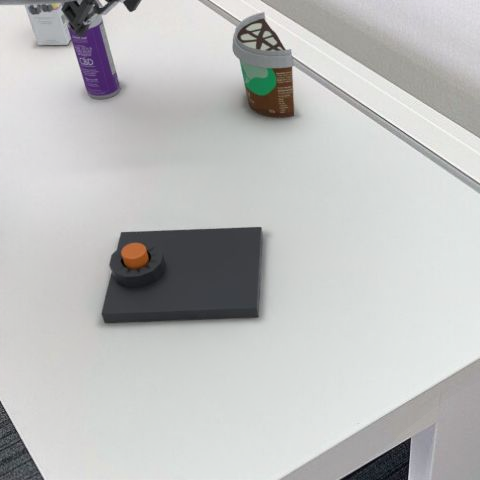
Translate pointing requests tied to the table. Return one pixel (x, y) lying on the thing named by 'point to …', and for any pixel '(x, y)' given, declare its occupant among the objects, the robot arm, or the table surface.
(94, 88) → the container
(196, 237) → the scale
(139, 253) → the button
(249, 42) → the food container
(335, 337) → the table surface
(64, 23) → the ink box
